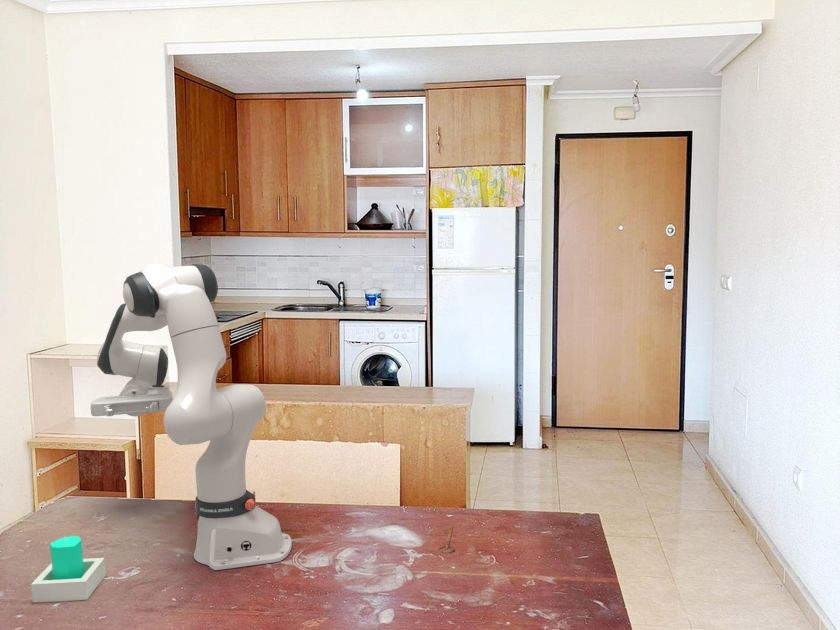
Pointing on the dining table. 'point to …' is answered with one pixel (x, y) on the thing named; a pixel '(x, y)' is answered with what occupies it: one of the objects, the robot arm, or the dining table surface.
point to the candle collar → (69, 583)
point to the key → (447, 539)
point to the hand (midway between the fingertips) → (129, 411)
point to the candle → (67, 558)
